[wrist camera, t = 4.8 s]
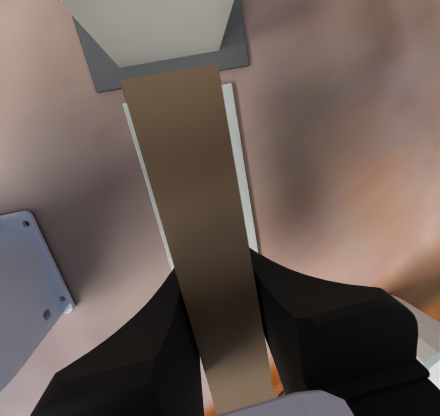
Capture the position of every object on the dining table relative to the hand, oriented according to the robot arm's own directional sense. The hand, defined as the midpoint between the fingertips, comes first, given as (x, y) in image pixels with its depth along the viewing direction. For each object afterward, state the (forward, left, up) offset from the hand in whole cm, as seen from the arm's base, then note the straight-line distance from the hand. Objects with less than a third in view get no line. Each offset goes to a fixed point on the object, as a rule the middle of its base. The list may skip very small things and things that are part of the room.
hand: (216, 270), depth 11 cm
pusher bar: (0, 0, -1) cm, 1 cm away
